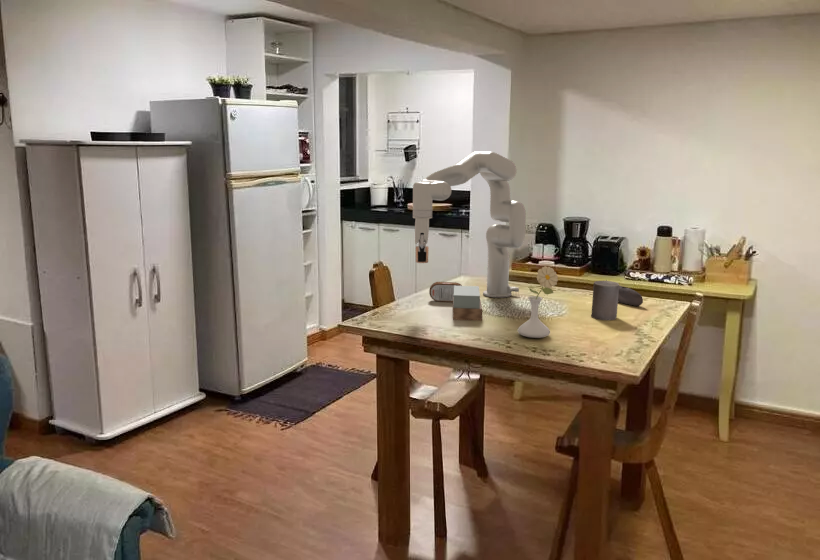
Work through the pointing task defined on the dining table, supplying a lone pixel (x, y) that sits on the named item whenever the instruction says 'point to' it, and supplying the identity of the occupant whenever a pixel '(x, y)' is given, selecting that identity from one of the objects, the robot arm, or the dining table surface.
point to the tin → (443, 291)
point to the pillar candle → (605, 300)
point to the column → (417, 254)
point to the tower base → (467, 313)
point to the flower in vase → (534, 325)
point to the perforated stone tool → (629, 296)
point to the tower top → (466, 297)
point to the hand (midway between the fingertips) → (422, 260)
